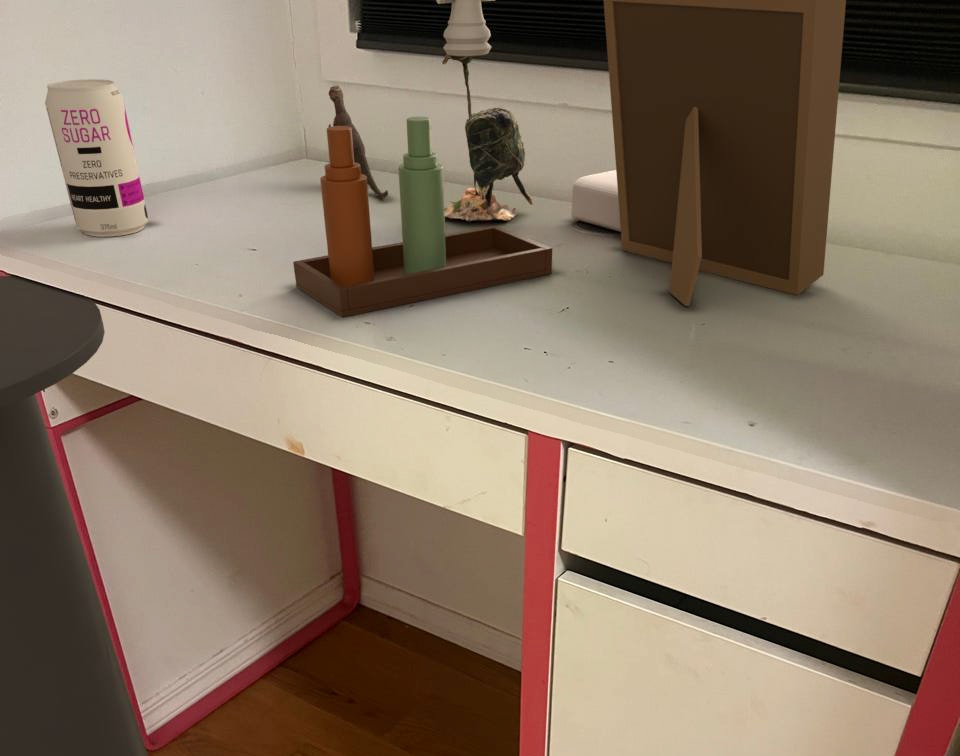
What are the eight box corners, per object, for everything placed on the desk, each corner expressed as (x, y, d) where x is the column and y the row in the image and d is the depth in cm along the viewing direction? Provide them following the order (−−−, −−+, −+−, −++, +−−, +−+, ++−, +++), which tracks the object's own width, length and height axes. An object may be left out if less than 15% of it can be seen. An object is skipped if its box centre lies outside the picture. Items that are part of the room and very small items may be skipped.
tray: (342, 317, 88) (339, 289, 86) (296, 287, 95) (292, 261, 93) (551, 273, 97) (552, 248, 96) (495, 249, 105) (495, 225, 103)
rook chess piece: (465, 57, 85) (463, -53, 80) (433, 53, 88) (429, -54, 83) (501, 53, 87) (501, -55, 83) (469, 49, 90) (467, -56, 85)
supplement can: (134, 216, 118) (103, 76, 109) (160, 230, 112) (131, 84, 103) (68, 227, 114) (31, 83, 105) (92, 242, 109) (55, 91, 99)
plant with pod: (505, 233, 110) (506, 27, 98) (428, 218, 115) (420, 22, 103) (544, 217, 115) (550, 20, 103) (469, 204, 120) (466, 16, 108)
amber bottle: (343, 299, 90) (327, 134, 82) (324, 287, 93) (307, 126, 84) (382, 291, 92) (371, 128, 83) (363, 280, 95) (350, 121, 86)
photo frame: (647, 242, 106) (671, -33, 91) (821, 285, 93) (883, -26, 78) (555, 270, 98) (565, -25, 83) (732, 322, 85) (782, -17, 70)
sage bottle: (417, 284, 93) (409, 124, 85) (397, 273, 96) (387, 117, 88) (454, 277, 95) (449, 119, 87) (433, 266, 98) (427, 113, 90)
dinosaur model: (337, 81, 125) (401, 102, 116) (346, 177, 133) (407, 204, 124) (310, 86, 123) (373, 107, 114) (321, 183, 131) (381, 210, 122)
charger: (665, 248, 104) (570, 221, 113) (720, 233, 109) (625, 208, 118) (670, 202, 101) (572, 178, 110) (726, 188, 106) (628, 167, 115)
